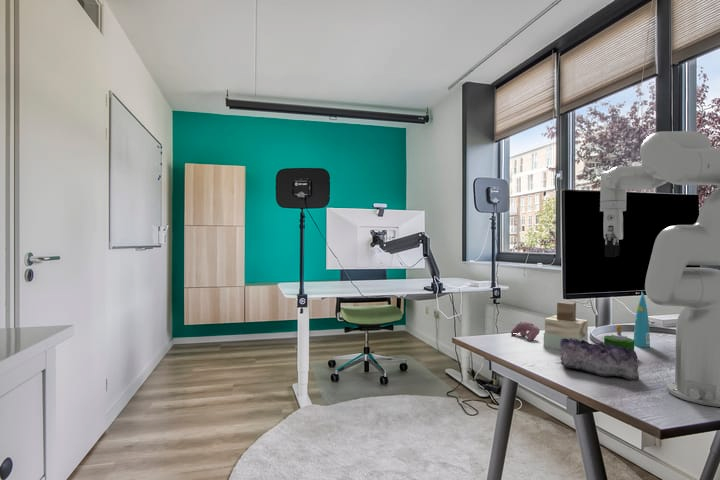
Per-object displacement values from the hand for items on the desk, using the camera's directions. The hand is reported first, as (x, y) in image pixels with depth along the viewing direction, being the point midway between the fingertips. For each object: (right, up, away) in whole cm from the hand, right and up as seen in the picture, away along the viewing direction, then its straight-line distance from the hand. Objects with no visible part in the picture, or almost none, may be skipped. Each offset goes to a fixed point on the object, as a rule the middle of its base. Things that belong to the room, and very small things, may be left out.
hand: (611, 256), depth 133 cm
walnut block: (-13, -23, +4) cm, 27 cm away
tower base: (-14, -33, +4) cm, 36 cm away
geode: (-18, -33, -21) cm, 43 cm away
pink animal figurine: (-23, -32, +16) cm, 43 cm away
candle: (-1, -33, -5) cm, 33 cm away
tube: (+15, -33, +6) cm, 36 cm away
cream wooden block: (-14, -28, +4) cm, 31 cm away
